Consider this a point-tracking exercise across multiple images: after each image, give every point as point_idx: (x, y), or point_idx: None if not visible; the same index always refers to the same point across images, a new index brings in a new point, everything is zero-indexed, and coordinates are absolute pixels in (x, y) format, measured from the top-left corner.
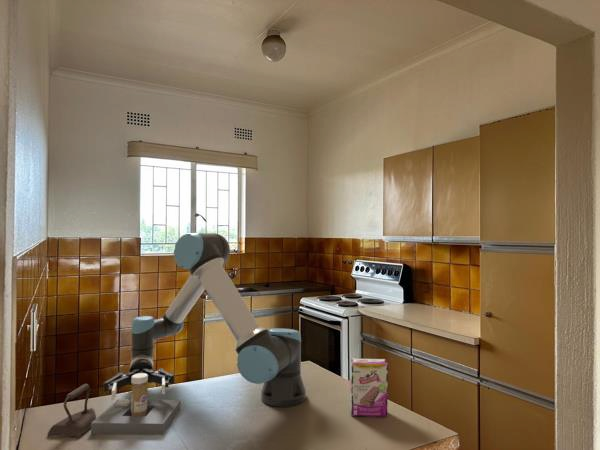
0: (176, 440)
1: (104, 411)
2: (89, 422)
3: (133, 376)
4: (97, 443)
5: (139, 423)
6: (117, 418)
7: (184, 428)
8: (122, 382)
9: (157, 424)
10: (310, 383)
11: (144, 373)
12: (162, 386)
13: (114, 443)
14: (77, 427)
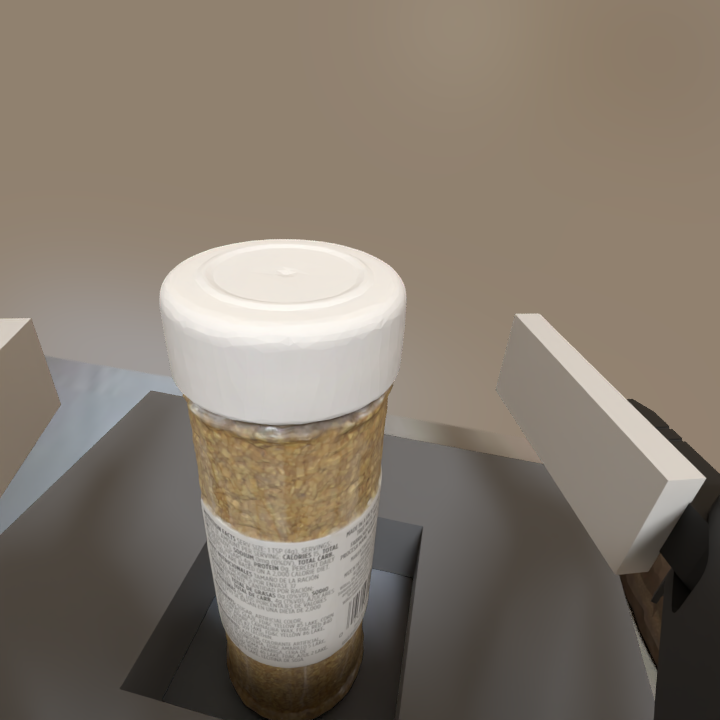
0: (117, 390)
1: (640, 658)
2: (654, 566)
3: (372, 262)
4: (472, 434)
5: None
6: (441, 497)
7: (19, 472)
8: (690, 713)
9: (182, 401)
10: None
11: (205, 302)
12: (35, 332)
13: (391, 420)
14: None
